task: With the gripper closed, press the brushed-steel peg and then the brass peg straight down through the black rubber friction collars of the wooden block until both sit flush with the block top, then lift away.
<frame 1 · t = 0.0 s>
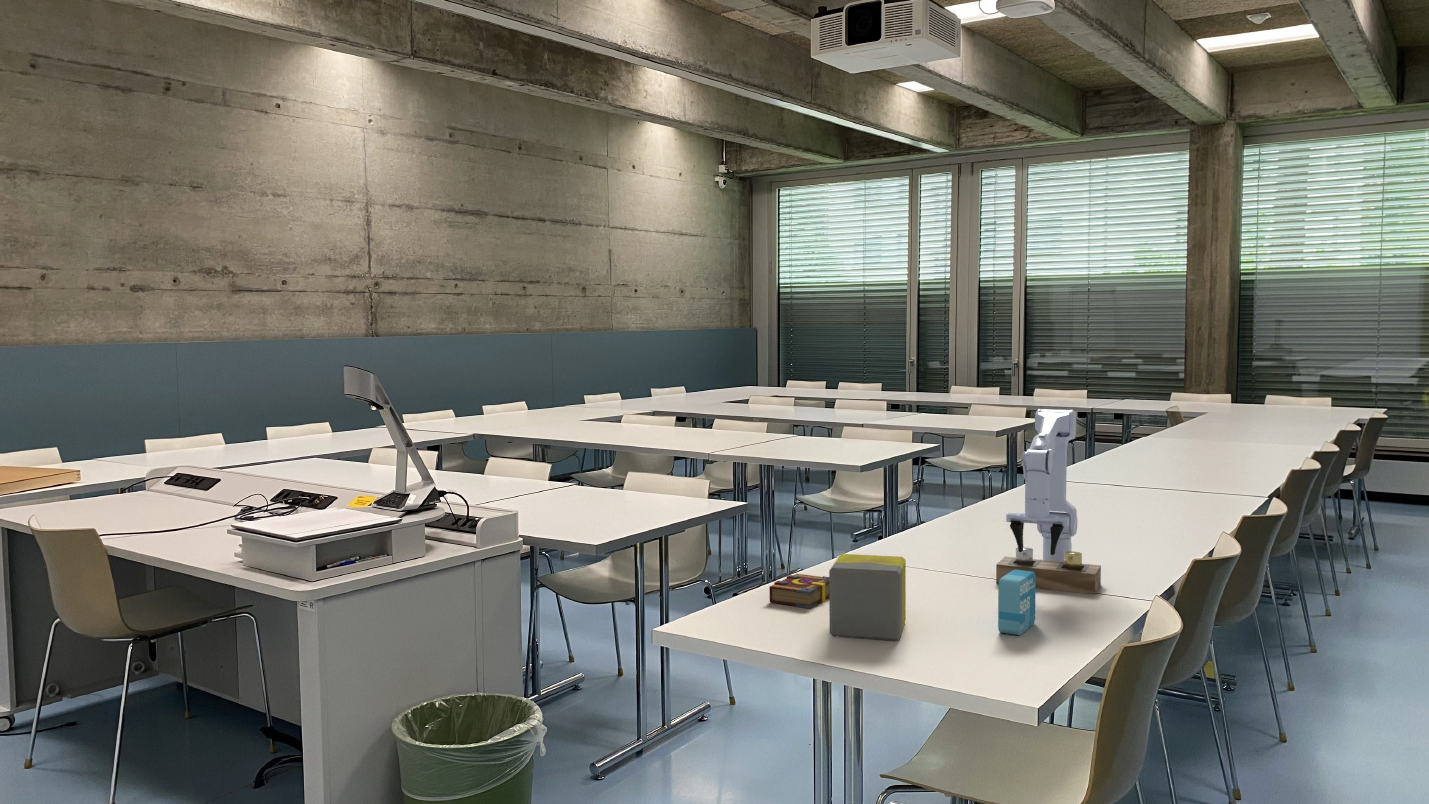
hand: (1036, 552, 249), 10 cm above the table, fingers open, 7 cm apart
brass peg: (1072, 561, 255), point 6 cm above the table, slide at 3.5 cm
data package: (1016, 629, 221), on the table
decorative book: (804, 600, 248), on the table
steel peg: (1024, 557, 260), point 6 cm above the table, slide at 3.5 cm
yellow-topped grey cube: (870, 624, 226), on the table
wooden block: (1048, 584, 258), on the table
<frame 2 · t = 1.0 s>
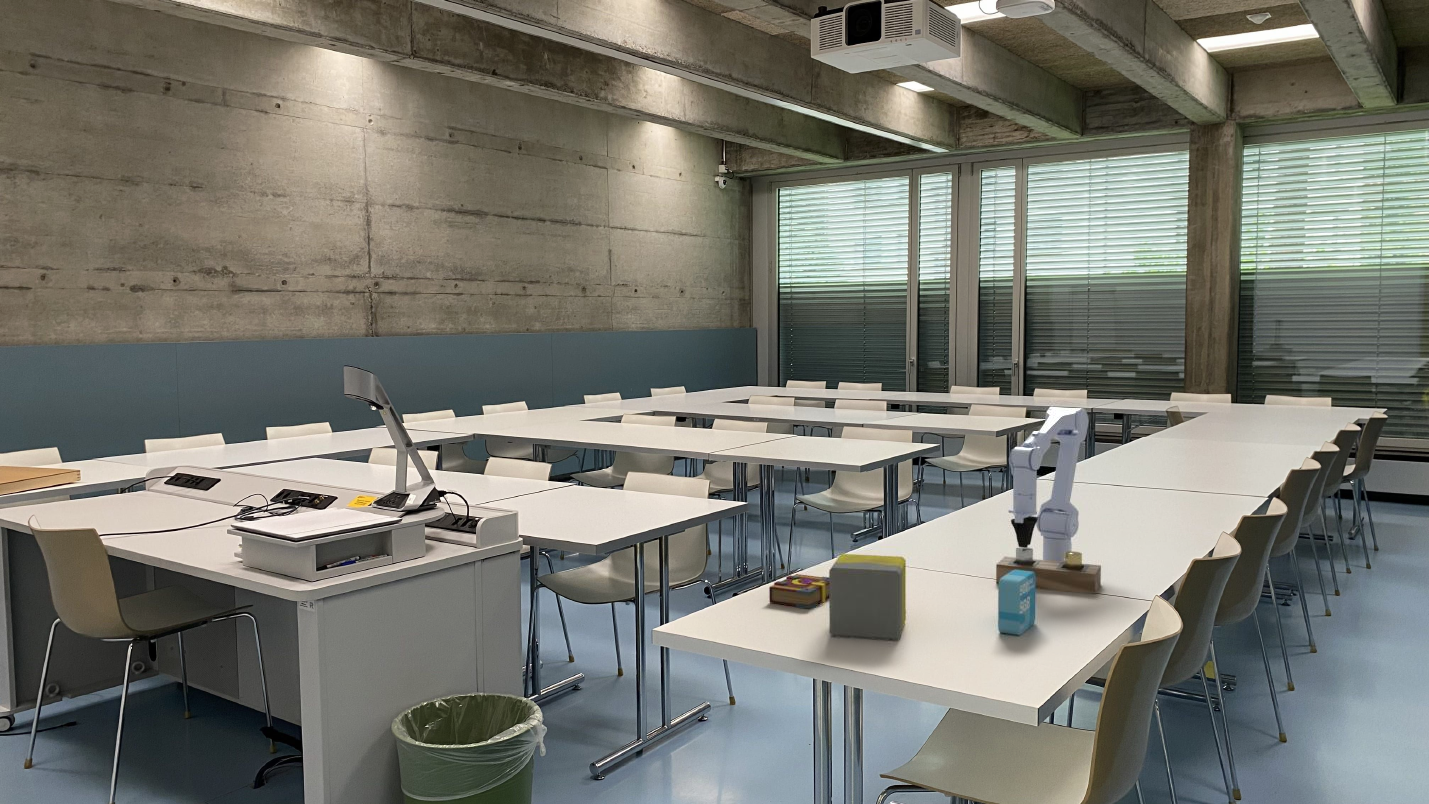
hand: (1024, 545, 260), 9 cm above the table, fingers open, 3 cm apart
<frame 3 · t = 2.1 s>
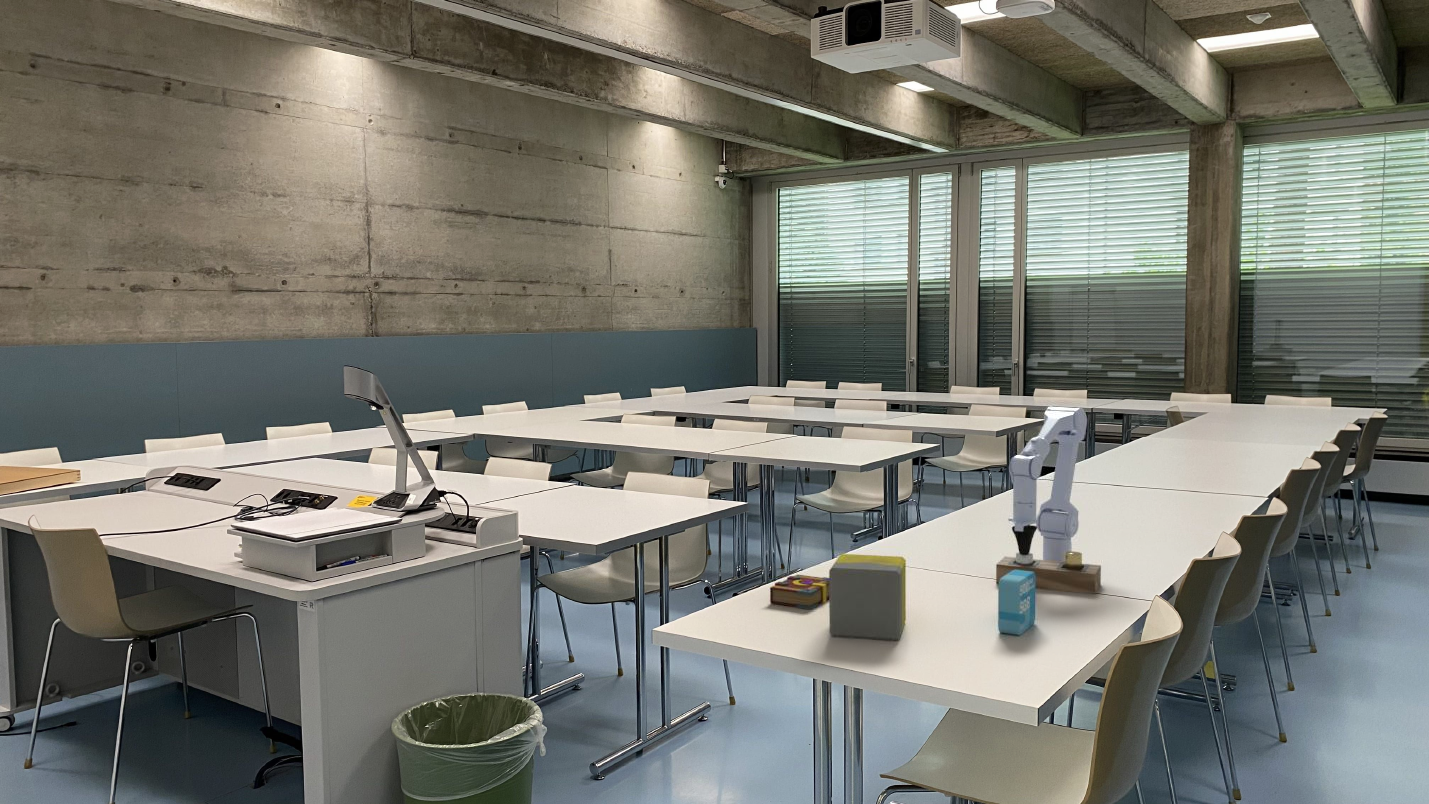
hand: (1024, 554, 260), 7 cm above the table, fingers closed, pressing on steel peg
steel peg: (1024, 562, 261), point 5 cm above the table, slide at 2.2 cm, touching gripper
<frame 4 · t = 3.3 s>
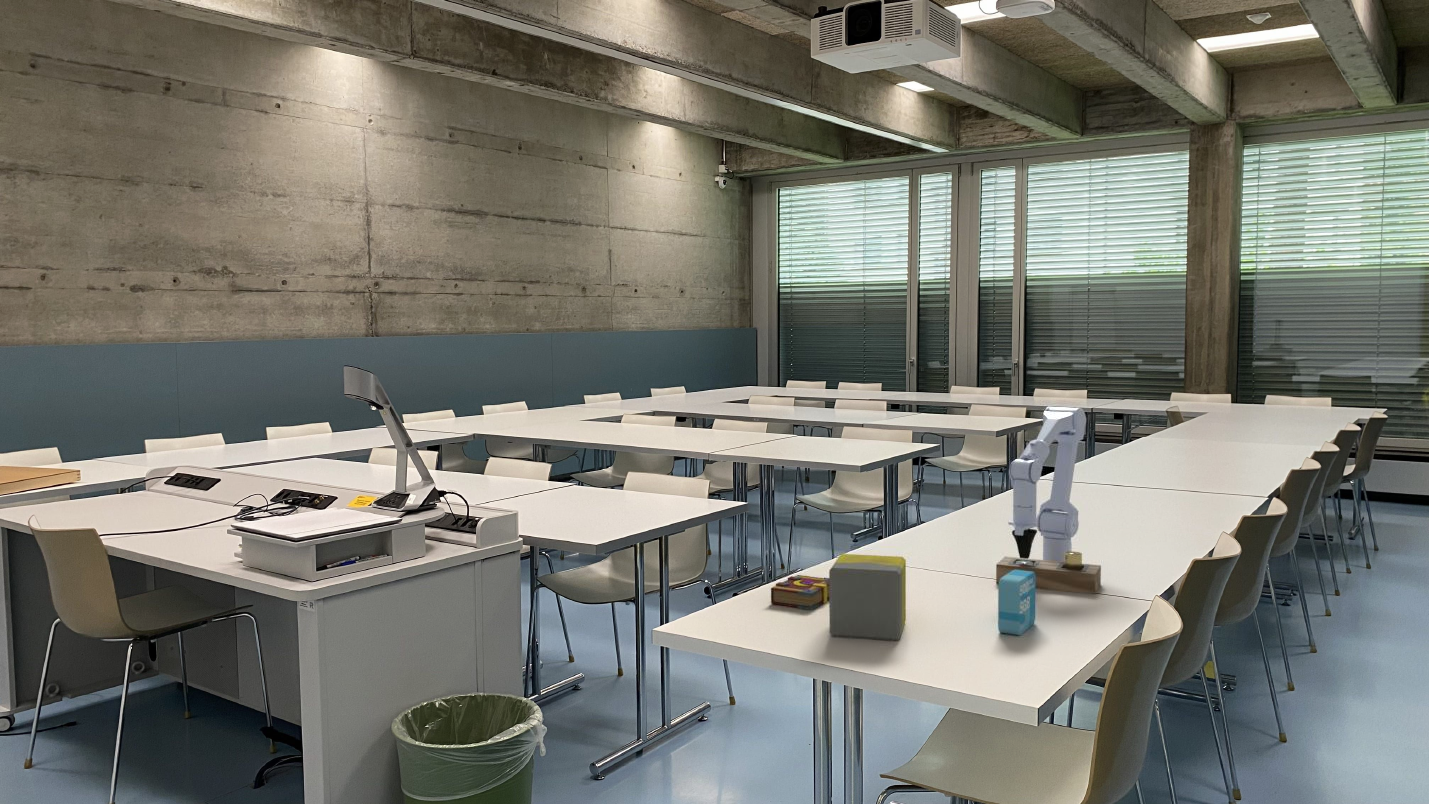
hand: (1024, 557, 260), 6 cm above the table, fingers closed
steel peg: (1024, 571, 261), point 3 cm above the table, slide at -0.1 cm
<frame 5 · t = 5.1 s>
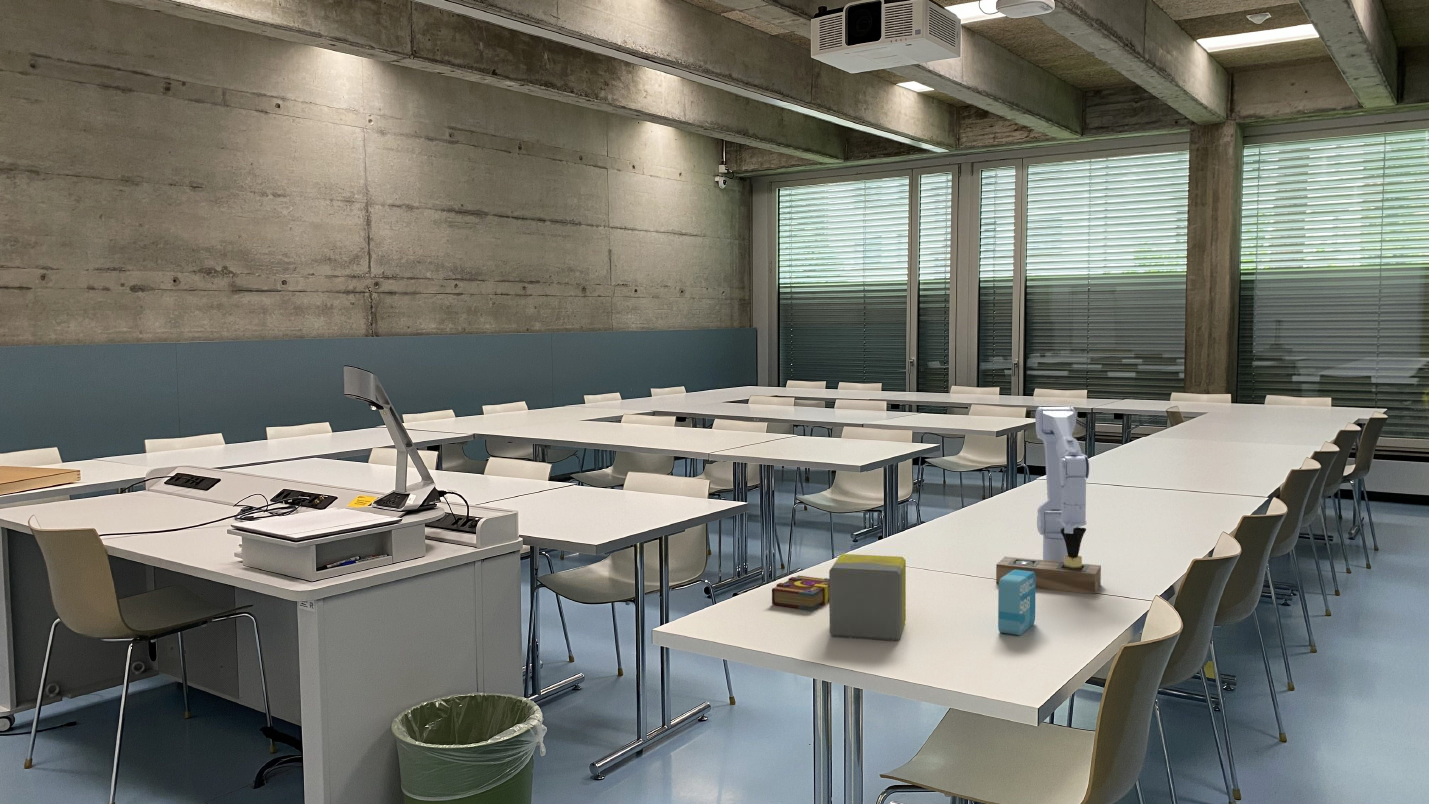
hand: (1073, 556, 255), 8 cm above the table, fingers closed, pressing on brass peg
brass peg: (1072, 565, 255), point 5 cm above the table, slide at 2.6 cm, touching gripper
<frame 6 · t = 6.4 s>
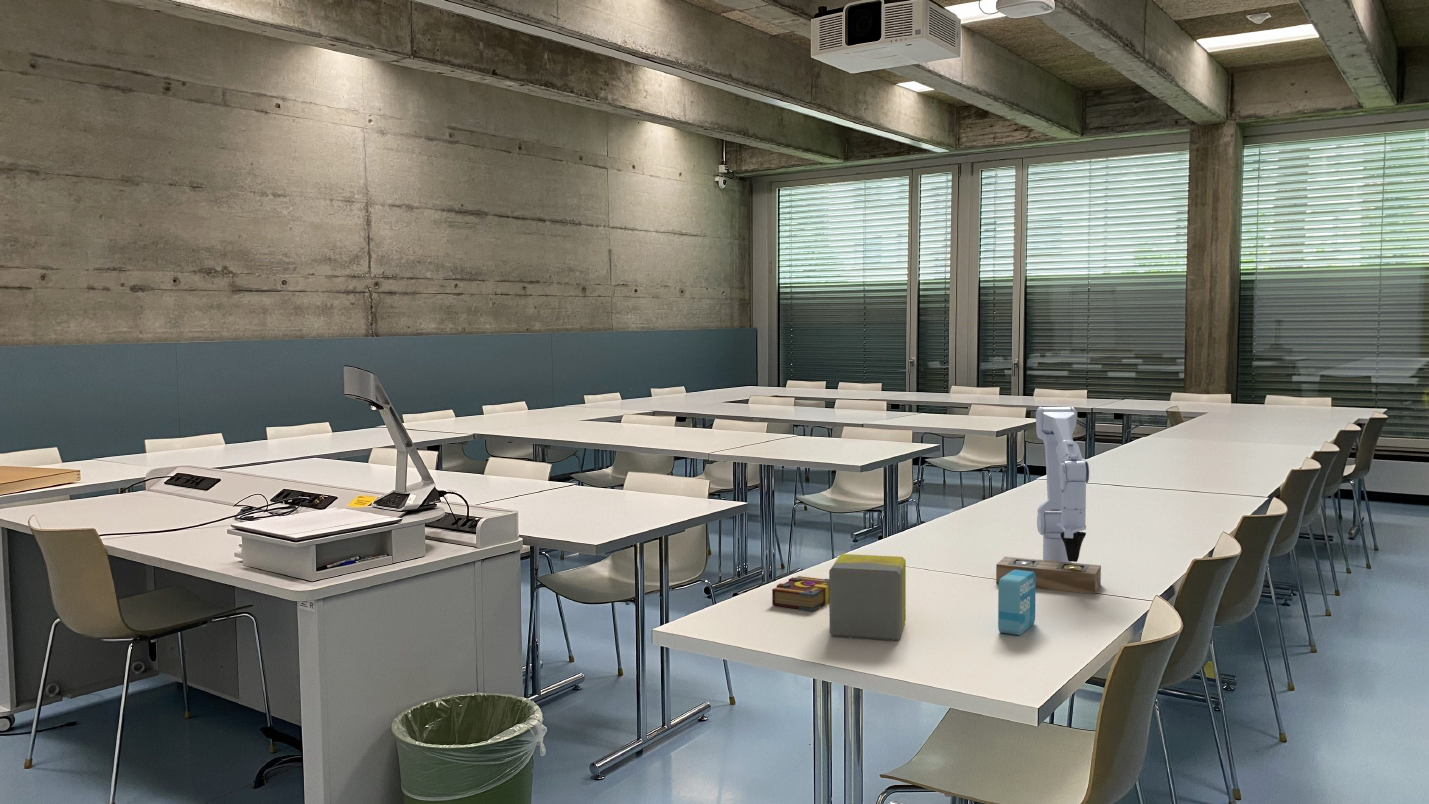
hand: (1072, 561, 255), 7 cm above the table, fingers closed
brass peg: (1072, 575, 255), point 3 cm above the table, slide at -0.1 cm
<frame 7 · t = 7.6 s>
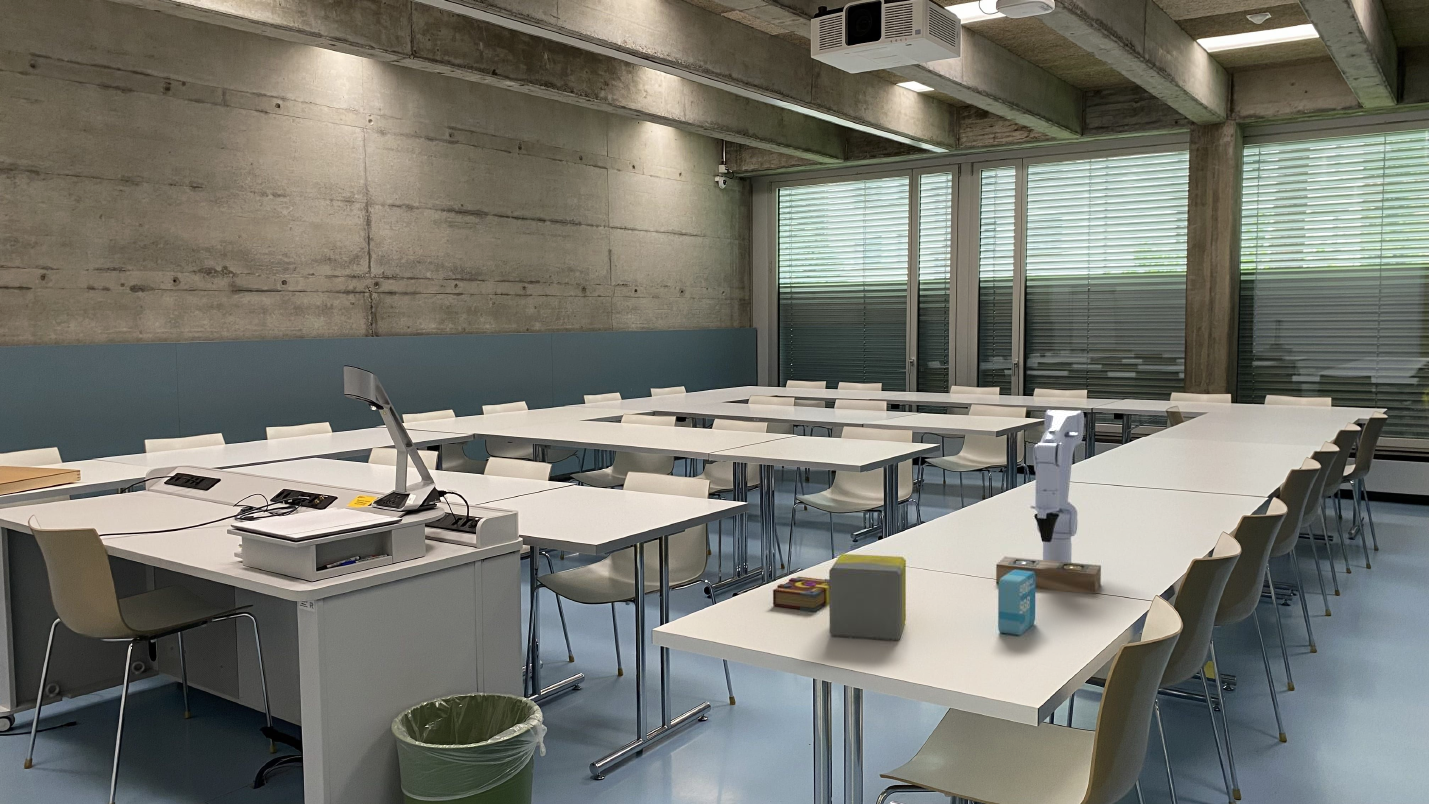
hand: (1046, 541, 260), 10 cm above the table, fingers closed
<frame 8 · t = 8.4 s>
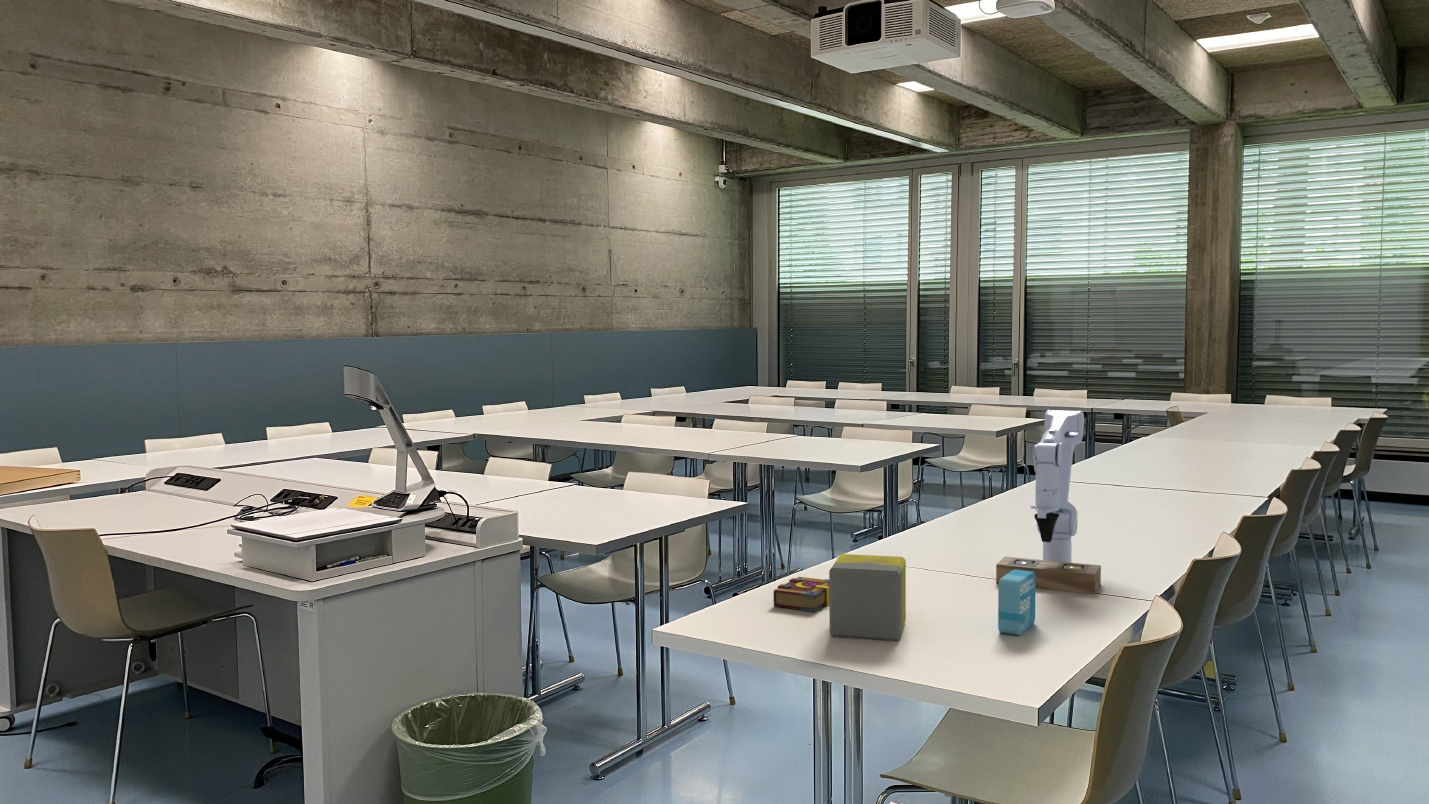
hand: (1046, 541, 260), 10 cm above the table, fingers closed
at the end: steel peg slide at -0.1 cm; brass peg slide at -0.1 cm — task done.
